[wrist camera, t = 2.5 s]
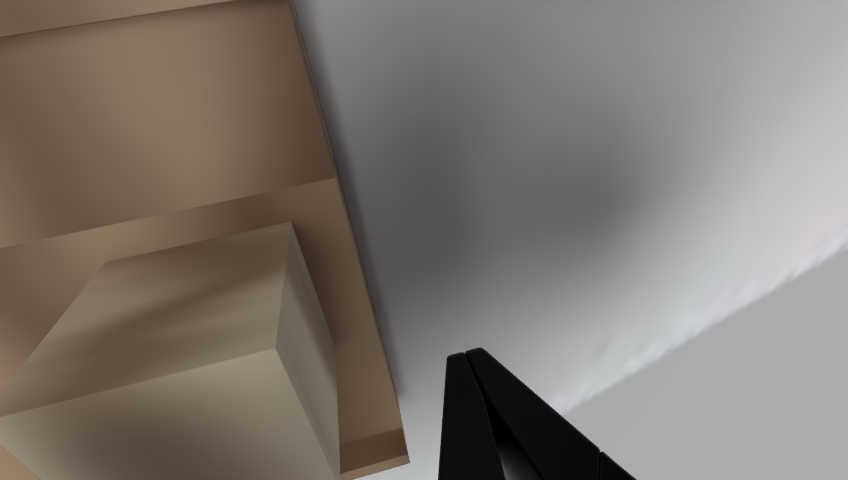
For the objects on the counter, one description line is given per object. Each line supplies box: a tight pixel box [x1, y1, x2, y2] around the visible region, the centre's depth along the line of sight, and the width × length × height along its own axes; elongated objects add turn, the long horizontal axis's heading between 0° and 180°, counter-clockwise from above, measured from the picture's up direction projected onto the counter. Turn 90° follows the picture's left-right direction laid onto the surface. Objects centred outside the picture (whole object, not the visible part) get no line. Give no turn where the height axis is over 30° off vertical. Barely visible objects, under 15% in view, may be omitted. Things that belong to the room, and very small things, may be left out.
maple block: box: [0, 222, 341, 480], centre depth 11 cm, size 5×5×5 cm
